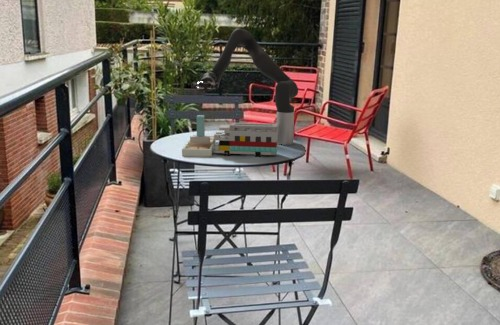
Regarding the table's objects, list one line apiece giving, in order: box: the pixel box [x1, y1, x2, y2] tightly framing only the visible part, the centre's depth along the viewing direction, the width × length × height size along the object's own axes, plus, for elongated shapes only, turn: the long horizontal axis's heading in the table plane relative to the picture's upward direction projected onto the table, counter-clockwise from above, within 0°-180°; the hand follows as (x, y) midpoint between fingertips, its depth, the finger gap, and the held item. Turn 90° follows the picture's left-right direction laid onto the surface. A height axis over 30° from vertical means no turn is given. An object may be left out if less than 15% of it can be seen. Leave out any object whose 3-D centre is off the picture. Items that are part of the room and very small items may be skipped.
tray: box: [181, 143, 214, 158], centre depth 241 cm, size 11×14×3 cm
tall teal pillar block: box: [189, 114, 210, 143], centre depth 248 cm, size 5×10×13 cm, turn 88°
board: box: [187, 134, 217, 149], centre depth 256 cm, size 18×12×4 cm, turn 178°
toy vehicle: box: [213, 122, 278, 158], centre depth 239 cm, size 8×30×15 cm, turn 84°
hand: (203, 86), depth 256 cm, fingers open, 8 cm apart
